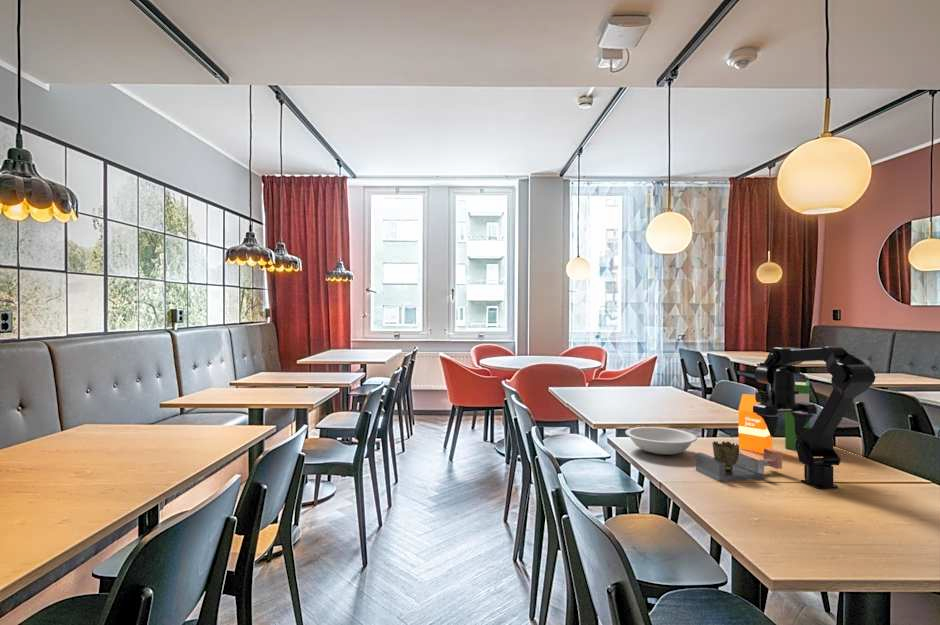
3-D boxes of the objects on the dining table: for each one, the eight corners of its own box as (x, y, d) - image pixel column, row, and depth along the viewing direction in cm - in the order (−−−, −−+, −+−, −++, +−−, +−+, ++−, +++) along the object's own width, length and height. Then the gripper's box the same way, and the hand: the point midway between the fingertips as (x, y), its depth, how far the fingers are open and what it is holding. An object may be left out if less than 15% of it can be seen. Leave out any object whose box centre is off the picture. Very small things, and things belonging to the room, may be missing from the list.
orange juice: (746, 445, 182) (746, 392, 183) (772, 450, 176) (772, 395, 176) (738, 448, 177) (737, 394, 178) (764, 454, 171) (764, 397, 171)
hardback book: (787, 439, 192) (786, 379, 193) (809, 441, 188) (809, 380, 189) (785, 448, 178) (784, 384, 178) (809, 451, 174) (809, 385, 174)
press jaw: (790, 471, 145) (789, 455, 145) (758, 473, 143) (757, 456, 143) (762, 461, 156) (761, 445, 156) (732, 462, 154) (731, 447, 154)
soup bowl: (637, 461, 161) (637, 442, 161) (617, 443, 185) (617, 426, 185) (709, 462, 160) (709, 442, 160) (680, 444, 184) (680, 427, 184)
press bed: (764, 478, 144) (763, 460, 144) (719, 481, 141) (719, 462, 141) (737, 467, 154) (737, 450, 155) (695, 470, 152) (695, 452, 152)
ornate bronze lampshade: (733, 466, 151) (733, 441, 151) (744, 473, 144) (744, 447, 144) (708, 465, 152) (708, 440, 152) (718, 473, 144) (718, 446, 144)
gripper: (788, 382, 161) (788, 429, 161) (739, 384, 158) (740, 431, 158) (818, 387, 150) (818, 437, 150) (766, 388, 147) (767, 439, 147)
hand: (784, 436), depth 151 cm, fingers open, 9 cm apart
